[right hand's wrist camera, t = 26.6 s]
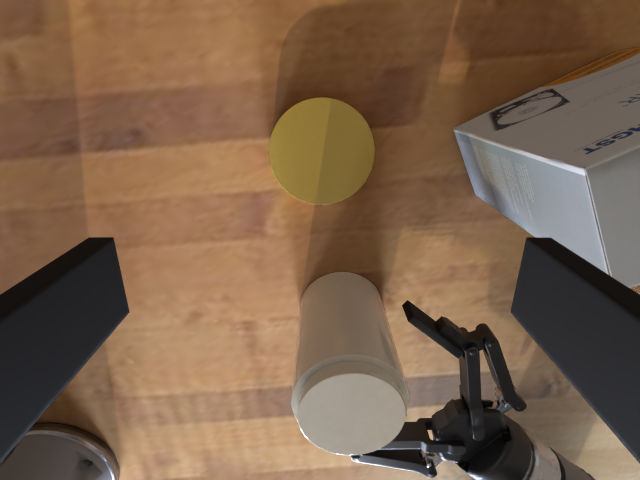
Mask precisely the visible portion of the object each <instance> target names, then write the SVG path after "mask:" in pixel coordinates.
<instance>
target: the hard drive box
mask: <svg viewBox="0 0 640 480" xmlns="http://www.w3.org/2000/svg"><path fill="white" fill-rule="evenodd" d="M454 133H455V136H456V139H457V142H458V145H459V148H460V151H461V154H462V157H463V160H464V163H465V166H466V169H467V172H468V175H469V178H470V181H471V184H472V186H473V189H474V192H475V194H476V196H478V197H480V198H481V199H482V200H484V201H485V202H487V203H488V204H489V205H491V206H492V207H494V208H495V209H497V210H498V211H499V212H501V213H502V214H503V215H505V216H506V217H508V218H509V219H510V220H512V221H513V222H515V223H516V224H518V225H519V226H520V227H522V228H523V229H525V230H526V231H527V232H529V233H530V234H532V235H533V236H534V237H536V238H552V239H554V240H555V241H557V242H558V243H560V244H562V245H563V246H565V247H566V248H568V249H569V250H571V251H572V252H574V253H576V254H577V255H579V256H580V257H582V258H583V259H585V260H586V261H588V262H589V263H591V264H593V265H594V266H596V267H597V268H599V269H600V270H602V271H603V272H605V273H607V274H608V275H610V276H611V277H613V278H614V279H616V280H617V281H619V282H621V283H622V284H624V285H625V286H627V287H628V288H632V287H635V286H638V285H640V47H635V48H629V49H621V50H618V51H616V52H613V53H611V54H609V55H607V56H605V57H603V58H600V59H598V60H596V61H594V62H592V63H590V64H587V65H585V66H583V67H581V68H579V69H577V70H574V71H572V72H570V73H568V74H566V75H564V76H562V77H560V78H558V79H556V80H554V81H552V82H549V83H547V84H545V85H543V86H541V87H539V88H537V89H535V90H533V91H530V92H528V93H526V94H524V95H522V96H520V97H518V98H516V99H513V100H511V101H509V102H507V103H505V104H503V105H500V106H498V107H496V108H494V109H492V110H490V111H488V112H486V113H483V114H481V115H479V116H477V117H475V118H473V119H471V120H469V121H467V122H465V123H463V124H461V125H458V126H456V127H455V128H454Z"/></svg>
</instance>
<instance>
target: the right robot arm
mask: <svg viewBox="0 0 640 480" xmlns="http://www.w3.org/2000/svg"><path fill="white" fill-rule="evenodd" d="M128 313H129V308H128V303H127V299H126V294H125V289H124V285H123V280H122V275H121V271H120V266H119V261H118V257H117V252H116V247H115V243H114V238H88V239H86V240H85V241H83V242H82V243H80V244H78V245H77V246H75V247H74V248H72V249H71V250H69V251H68V252H66V253H64V254H63V255H61V256H60V257H58V258H57V259H55V260H54V261H52V262H51V263H49V264H47V265H46V266H44V267H43V268H41V269H40V270H38V271H37V272H35V273H33V274H32V275H30V276H29V277H27V278H26V279H24V280H23V281H21V282H19V283H18V284H16V285H15V286H13V287H12V288H10V289H9V290H7V291H6V292H4V293H2V294H1V295H0V480H119V475H120V471H119V465H118V462H117V460H116V458H115V456H114V455H113V453H112V452H111V450H110V449H109V448H108V447H107V446H106V445H105V444H104V443H102V442H101V441H100V440H99V439H97V438H96V437H94V436H92V435H91V434H89V433H87V432H85V431H83V430H80V429H77V428H75V427H71V426H67V425H62V424H55V423H41V424H34V423H35V422H36V421H37V420H38V419H39V417H40V416H41V415H42V414H43V413H44V412H45V410H46V409H47V408H48V407H49V406H50V405H51V403H52V402H53V401H54V400H55V399H56V398H57V396H58V395H59V394H60V393H61V392H62V391H63V389H64V388H65V387H66V386H67V385H68V384H69V382H70V381H71V380H72V379H73V378H74V376H75V375H76V374H77V373H78V372H79V371H80V369H81V368H82V367H83V366H84V365H85V364H86V362H87V361H88V360H89V359H90V358H91V357H92V355H93V354H94V353H95V352H96V351H97V350H98V348H99V347H100V346H101V345H102V344H103V342H104V341H105V340H106V339H107V338H108V337H109V335H110V334H111V333H112V332H113V331H114V330H115V328H116V327H117V326H118V325H119V324H120V323H121V321H122V320H123V319H124V318H125V317H126V316H127V314H128ZM511 313H512V314H513V316H514V317H515V318H516V319H517V320H518V321H519V323H520V324H521V325H522V326H523V327H524V328H525V330H526V331H527V332H528V333H529V334H530V335H531V337H532V338H533V339H534V340H535V341H536V342H537V344H538V345H539V346H540V347H541V348H542V350H543V351H544V352H545V353H546V354H547V355H548V357H549V358H550V359H551V360H552V361H553V362H554V364H555V365H556V366H557V367H558V368H559V369H560V371H561V372H562V373H563V374H564V375H565V376H566V378H567V379H568V380H569V381H570V382H571V384H572V385H573V386H574V387H575V388H576V389H577V391H578V392H579V393H580V394H581V395H582V396H583V398H584V399H585V400H586V401H587V402H588V403H589V405H590V406H591V407H592V408H593V409H594V410H595V412H596V413H597V414H598V415H599V416H600V417H601V419H602V420H603V421H604V422H605V423H606V425H607V426H608V427H609V428H610V429H611V430H612V432H613V433H614V434H615V435H616V436H617V437H618V439H619V440H620V441H621V442H622V443H623V444H624V446H625V447H626V448H627V449H628V450H629V451H630V453H631V454H632V455H633V456H634V457H635V458H636V460H637V461H638V462H639V463H640V295H639V294H638V293H636V292H634V291H633V290H631V289H630V288H628V287H627V286H625V285H624V284H622V283H621V282H619V281H617V280H616V279H614V278H613V277H611V276H610V275H608V274H607V273H605V272H603V271H602V270H600V269H599V268H597V267H596V266H594V265H593V264H591V263H589V262H588V261H586V260H585V259H583V258H582V257H580V256H579V255H577V254H576V253H574V252H572V251H571V250H569V249H568V248H566V247H565V246H563V245H562V244H560V243H558V242H557V241H555V240H554V239H552V238H526V243H525V247H524V252H523V257H522V261H521V266H520V271H519V275H518V280H517V285H516V289H515V294H514V299H513V303H512V308H511Z"/></svg>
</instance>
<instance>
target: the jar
mask: <svg viewBox="0 0 640 480" xmlns="http://www.w3.org/2000/svg"><path fill="white" fill-rule="evenodd" d="M291 402H292V409H293V413H294V415H295V418H296V420H297V421H298V423H299V426H300V429H301V431H302V432H303V434H304V435H305V437H306V438H307V439H308V440H309V441H310V442H311V443H313V444H314V445H315V446H317V447H319V448H321V449H322V450H325V451H327V452H331V453H334V454H340V455H361V454H366V453H370V452H373V451H376V450H378V449H380V448H382V447H384V446H386V445H387V444H388V443H390V442H391V441H392V440H393V439H394V438H395V437H396V436H397V435H398V434H399V432H400V431H401V429H402V427H403V425H404V422H405V418H406V416H407V409H408V405H409V391H408V388H407V384H406V381H405V377H404V374H403V371H402V367H401V364H400V360H399V357H398V353H397V350H396V347H395V343H394V340H393V336H392V333H391V330H390V326H389V323H388V319H387V316H386V313H385V309H384V306H383V302H382V299H381V296H380V293H379V291H378V290H377V288H376V287H375V286H374V285H373V284H372V283H371V282H370V281H369V280H367V279H366V278H364V277H362V276H360V275H358V274H355V273H350V272H334V273H330V274H326V275H324V276H322V277H320V278H318V279H316V280H315V281H314V282H312V283H311V284H310V285H309V286H308V288H307V289H306V290H305V292H304V294H303V296H302V298H301V302H300V312H299V323H298V334H297V345H296V356H295V367H294V377H293V388H292V399H291Z"/></svg>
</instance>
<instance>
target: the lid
mask: <svg viewBox="0 0 640 480" xmlns="http://www.w3.org/2000/svg"><path fill="white" fill-rule="evenodd" d="M374 157H375V145H374V139H373V135H372V132H371V130H370V127H369V125H368V124H367V122H366V120H365V119H364V118H363V117H362V115H361V114H360V113H359V112H358V111H357V110H356V109H354V108H353V107H352V106H350V105H348V104H347V103H345V102H343V101H340V100H338V99H334V98H329V97H314V98H310V99H306V100H303V101H301V102H299V103H297V104H295V105H294V106H292V107H291V108H290V109H288V110H287V111H286V112H285V113H284V114H283V115H282V116H281V118H280V119H279V120H278V122H277V123H276V125H275V127H274V129H273V132H272V134H271V138H270V143H269V160H270V164H271V168H272V171H273V173H274V175H275V177H276V179H277V181H278V182H279V184H280V185H281V186H282V187H283V188H284V189H285V190H286V191H287V192H288V193H289V194H290V195H292V196H293V197H295V198H297V199H299V200H301V201H303V202H306V203H310V204H315V205H329V204H334V203H337V202H340V201H343V200H345V199H347V198H349V197H350V196H352V195H353V194H354V193H356V192H357V191H358V190H359V189H360V188H361V187H362V186H363V184H364V183H365V182H366V180H367V178H368V177H369V175H370V172H371V170H372V167H373V163H374Z"/></svg>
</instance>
